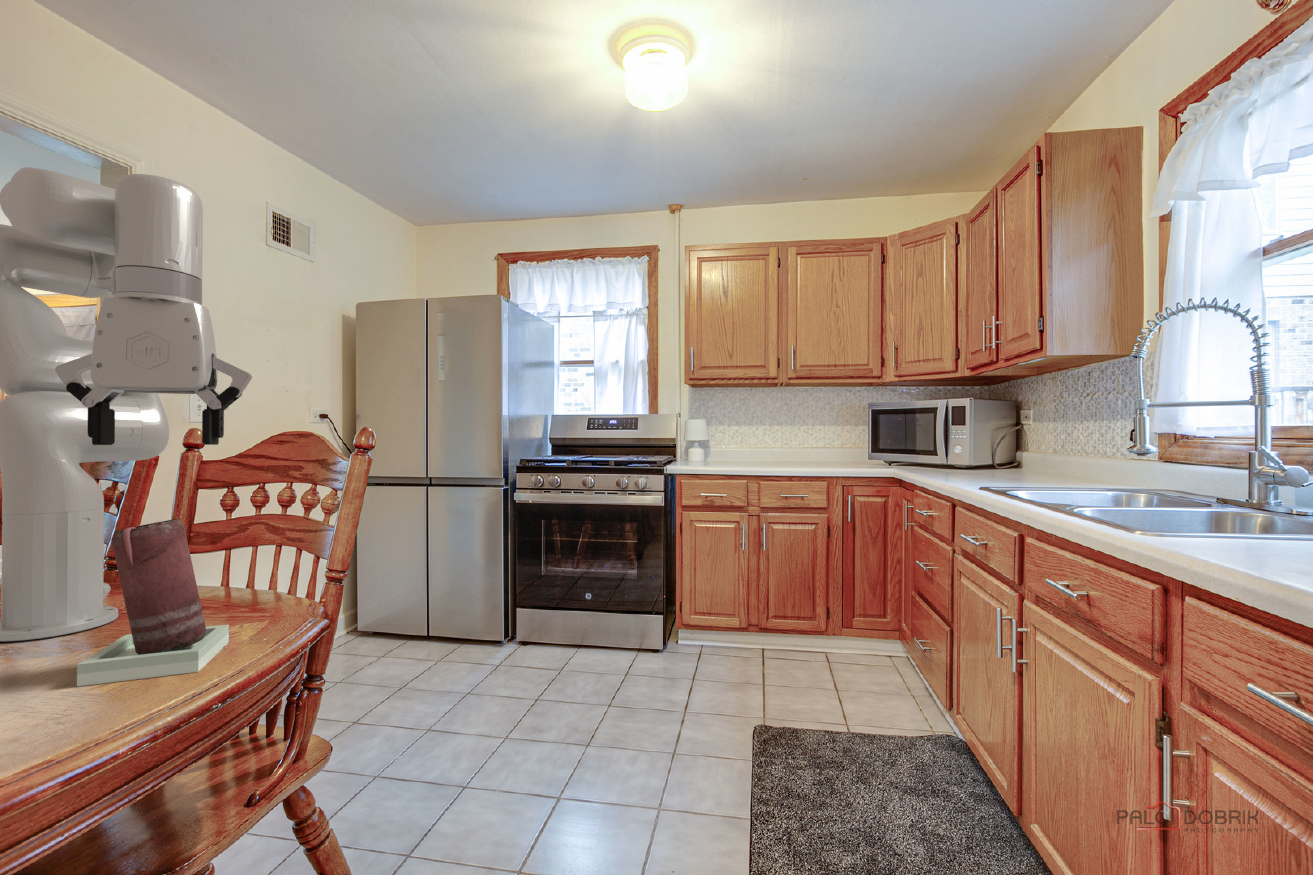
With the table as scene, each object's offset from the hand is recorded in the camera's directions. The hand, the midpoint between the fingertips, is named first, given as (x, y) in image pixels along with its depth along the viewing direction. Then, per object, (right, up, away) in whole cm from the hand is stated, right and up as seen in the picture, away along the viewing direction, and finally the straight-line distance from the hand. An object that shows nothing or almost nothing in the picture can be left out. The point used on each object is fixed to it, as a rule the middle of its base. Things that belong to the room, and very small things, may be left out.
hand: (158, 444), depth 65 cm
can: (+2, -23, 0) cm, 23 cm away
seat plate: (0, -24, 0) cm, 24 cm away
